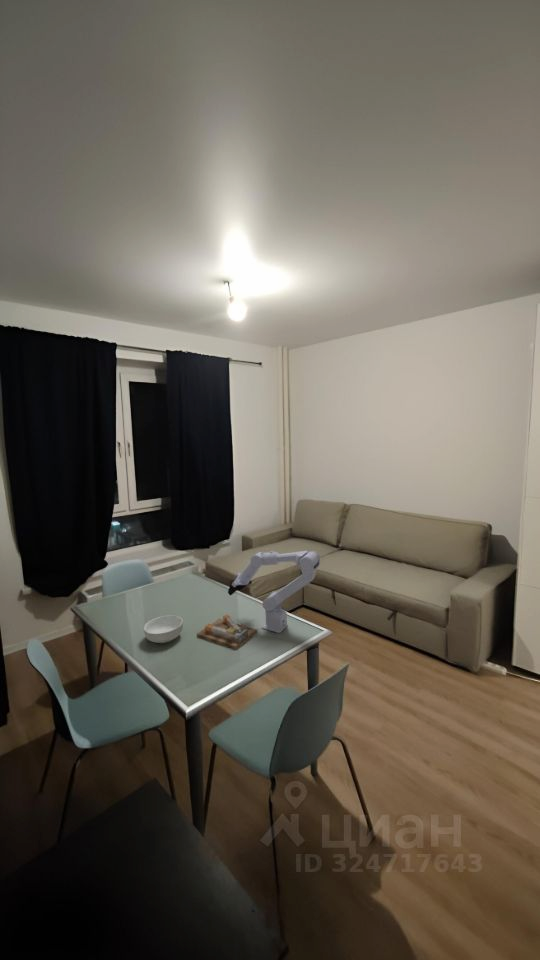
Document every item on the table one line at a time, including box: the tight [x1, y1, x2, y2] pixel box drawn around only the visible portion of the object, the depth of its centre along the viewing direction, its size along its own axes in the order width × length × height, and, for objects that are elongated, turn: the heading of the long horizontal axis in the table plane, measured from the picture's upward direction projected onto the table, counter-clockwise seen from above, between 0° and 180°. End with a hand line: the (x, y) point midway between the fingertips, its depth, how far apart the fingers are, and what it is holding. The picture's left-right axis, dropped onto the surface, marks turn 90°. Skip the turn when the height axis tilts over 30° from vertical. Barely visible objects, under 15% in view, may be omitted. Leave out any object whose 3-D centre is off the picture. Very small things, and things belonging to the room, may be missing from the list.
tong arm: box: [222, 614, 242, 634], centre depth 175 cm, size 18×3×3 cm, turn 28°
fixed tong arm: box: [204, 623, 248, 643], centre depth 170 cm, size 19×7×3 cm, turn 58°
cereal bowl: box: [143, 614, 184, 644], centre depth 171 cm, size 17×17×7 cm
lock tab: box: [226, 627, 237, 634], centre depth 166 cm, size 3×4×1 cm
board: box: [196, 618, 258, 651], centre depth 173 cm, size 22×16×2 cm
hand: (234, 591), depth 186 cm, fingers open, 7 cm apart
